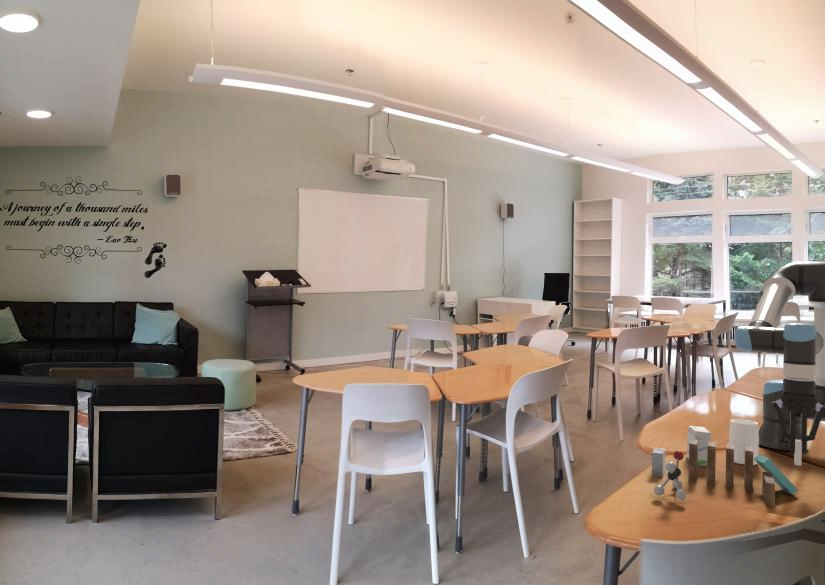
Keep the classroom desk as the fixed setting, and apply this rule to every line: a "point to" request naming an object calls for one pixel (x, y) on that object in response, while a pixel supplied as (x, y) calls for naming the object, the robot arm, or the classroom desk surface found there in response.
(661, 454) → the block
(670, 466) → the molecular model
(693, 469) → the domino
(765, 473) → the domino
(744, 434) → the cup
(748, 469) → the domino
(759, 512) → the classroom desk surface
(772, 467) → the teal tile
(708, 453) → the domino
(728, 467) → the domino
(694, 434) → the ink box
